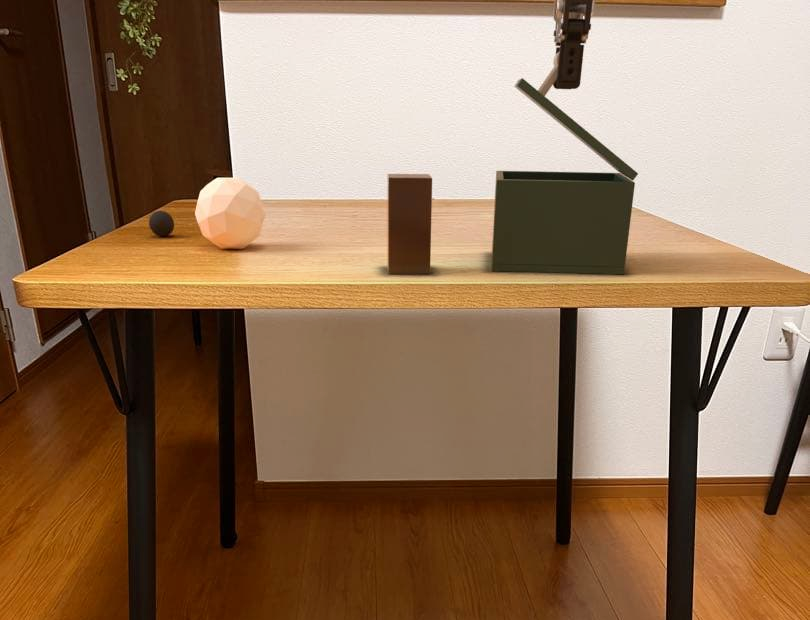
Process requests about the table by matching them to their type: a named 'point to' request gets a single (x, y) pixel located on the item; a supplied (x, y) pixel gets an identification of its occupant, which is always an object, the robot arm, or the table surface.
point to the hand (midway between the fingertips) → (565, 87)
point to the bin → (561, 222)
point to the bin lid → (571, 121)
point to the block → (409, 223)
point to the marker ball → (161, 223)
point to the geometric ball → (230, 213)
